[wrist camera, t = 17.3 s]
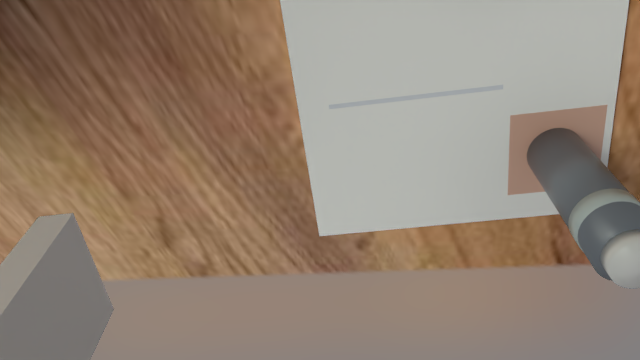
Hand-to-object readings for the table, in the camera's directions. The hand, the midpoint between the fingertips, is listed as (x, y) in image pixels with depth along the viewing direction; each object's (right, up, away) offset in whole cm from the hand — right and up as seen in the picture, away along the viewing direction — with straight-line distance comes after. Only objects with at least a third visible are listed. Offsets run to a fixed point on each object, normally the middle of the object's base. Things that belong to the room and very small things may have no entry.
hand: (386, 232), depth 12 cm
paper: (+7, +6, +24) cm, 26 cm away
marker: (+14, +3, +25) cm, 29 cm away
